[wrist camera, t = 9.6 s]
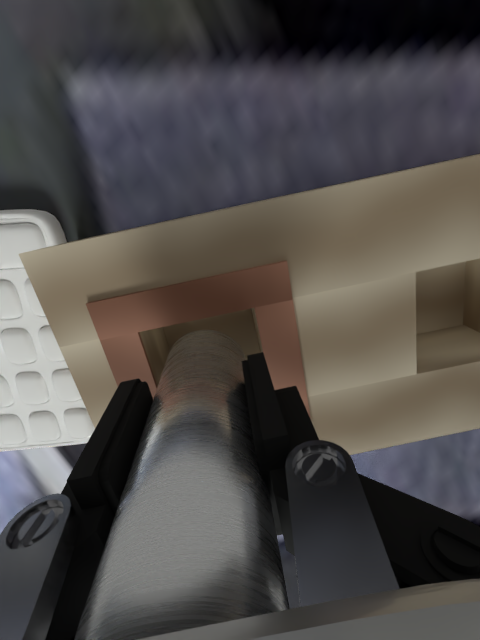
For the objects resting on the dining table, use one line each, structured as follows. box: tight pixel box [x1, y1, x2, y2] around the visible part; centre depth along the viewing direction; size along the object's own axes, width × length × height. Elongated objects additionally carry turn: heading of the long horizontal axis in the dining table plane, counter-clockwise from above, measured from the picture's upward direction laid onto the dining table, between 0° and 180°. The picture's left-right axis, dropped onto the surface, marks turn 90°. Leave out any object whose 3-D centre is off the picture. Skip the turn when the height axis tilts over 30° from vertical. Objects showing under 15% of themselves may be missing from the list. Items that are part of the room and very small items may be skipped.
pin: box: [74, 330, 289, 640], centre depth 8 cm, size 3×3×10 cm
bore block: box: [19, 154, 480, 455], centre depth 15 cm, size 12×22×5 cm, turn 101°
